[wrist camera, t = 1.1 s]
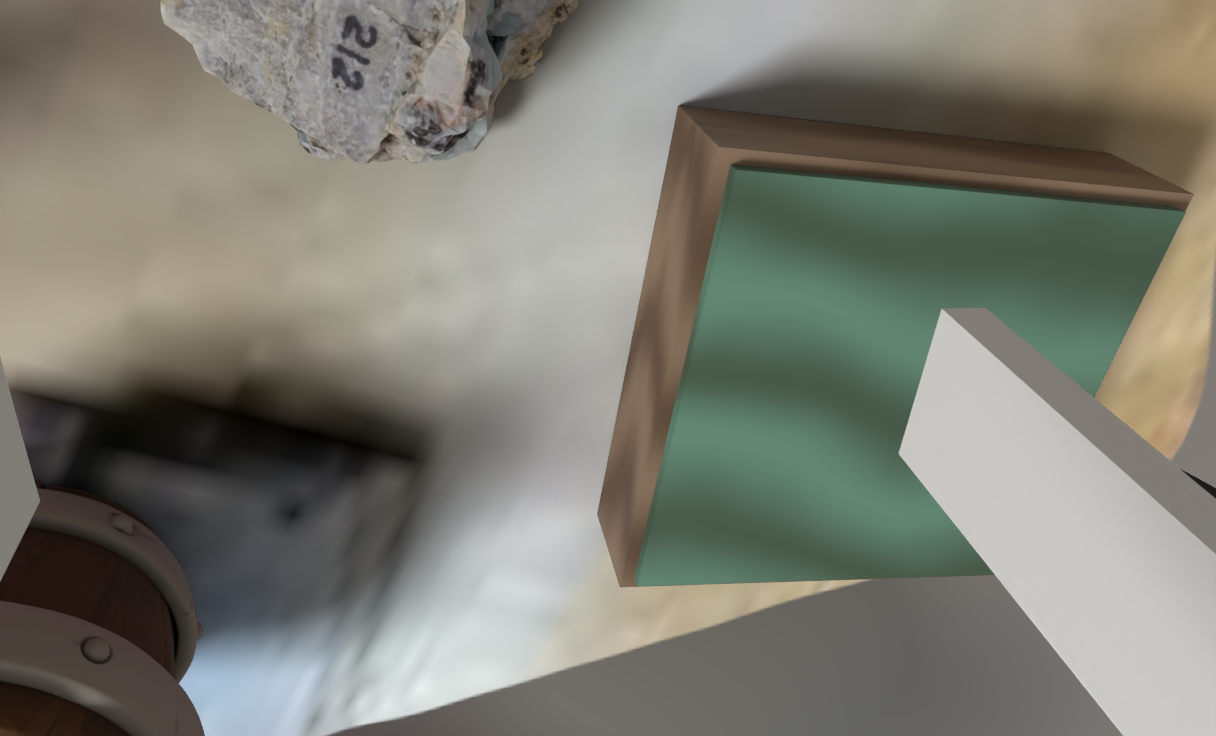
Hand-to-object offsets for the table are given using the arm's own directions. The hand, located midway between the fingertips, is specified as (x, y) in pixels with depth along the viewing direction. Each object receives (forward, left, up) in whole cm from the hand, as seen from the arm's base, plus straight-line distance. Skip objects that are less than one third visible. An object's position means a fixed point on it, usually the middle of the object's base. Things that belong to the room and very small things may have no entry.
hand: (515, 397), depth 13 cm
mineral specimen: (-2, -2, -20) cm, 20 cm away
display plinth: (+9, +17, -19) cm, 28 cm away
